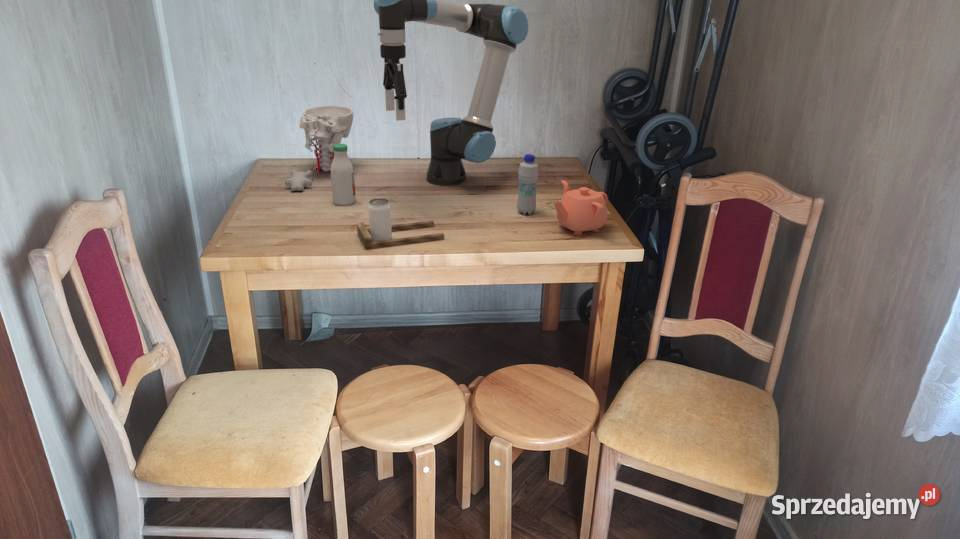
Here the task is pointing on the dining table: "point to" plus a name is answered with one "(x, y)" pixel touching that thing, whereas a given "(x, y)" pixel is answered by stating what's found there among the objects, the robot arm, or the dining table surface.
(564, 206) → the orange rounded piece
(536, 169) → the bottle
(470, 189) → the dining table surface
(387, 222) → the can
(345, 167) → the milk bottle
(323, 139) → the skull
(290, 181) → the grey lumpy figure
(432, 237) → the guide
